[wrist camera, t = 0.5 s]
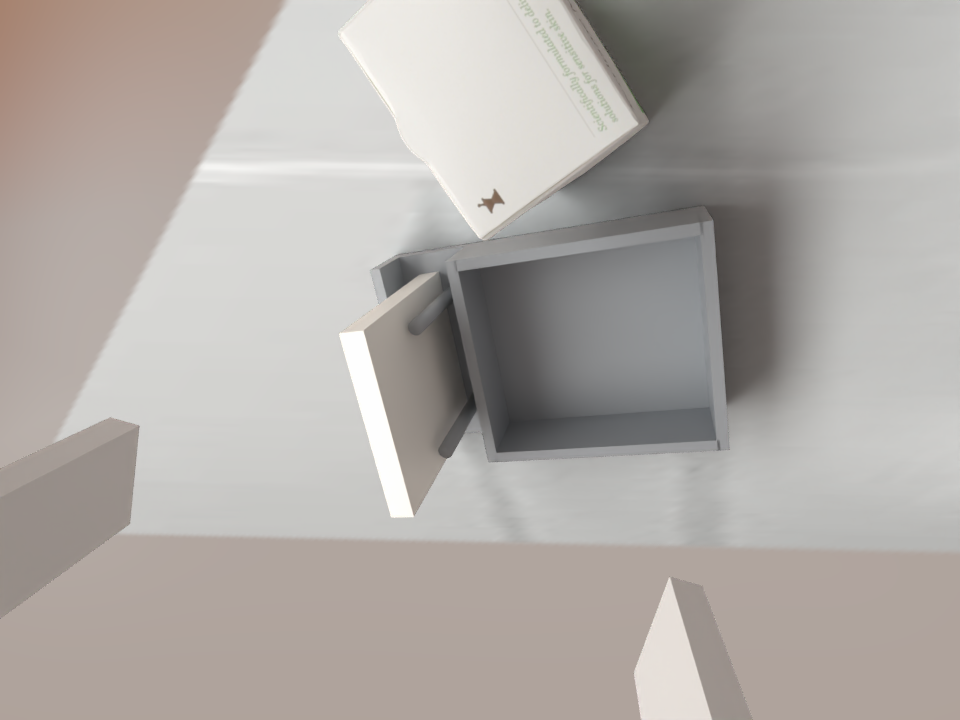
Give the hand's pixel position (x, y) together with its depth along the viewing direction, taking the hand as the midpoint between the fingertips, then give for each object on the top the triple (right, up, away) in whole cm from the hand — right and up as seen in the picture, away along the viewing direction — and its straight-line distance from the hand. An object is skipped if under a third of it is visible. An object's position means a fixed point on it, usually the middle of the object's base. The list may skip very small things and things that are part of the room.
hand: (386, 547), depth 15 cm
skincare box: (+6, +19, +18) cm, 27 cm away
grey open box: (+7, +6, +23) cm, 24 cm away
